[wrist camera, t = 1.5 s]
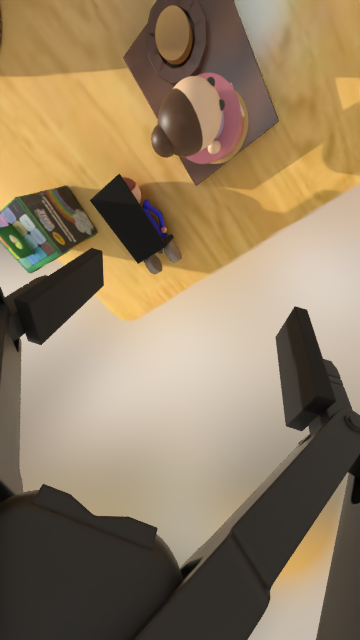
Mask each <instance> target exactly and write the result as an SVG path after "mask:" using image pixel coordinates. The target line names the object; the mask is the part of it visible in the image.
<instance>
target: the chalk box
mask: <svg viewBox="0 0 360 640" xmlns="http://www.w3.org/2000/svg"><path fill="white" fill-rule="evenodd" d="M97 233H98V232H97V230H96V229H95V228H94V226H93V224H92V223H91V221H90V220H89V218H88V217H87V215H86V214H85V212H84V211H83V209H82V208H81V206H80V204H79V203H78V201H77V200H76V198H75V197H74V195H73V194H72V192H71V191H70V189H69V187H68V186H63V187H59V188H55V189H51V190H46V191H40V192H37V193H33V194H29V195H24V196H20V197H15V198H14V199H13V200H12V201H11V202H10V203H9V204H8V205H7V206H6V207H5V208H3V209H2V210H1V211H0V243H1V244H2V245H3V246H4V247H5V248H6V249H7V250H8V251H9V253H10V254H11V255H12V256H13V257H14V258H15V259H16V260H17V261H18V262H19V263H20V264H21V265H22V266H23V267H24V268H25V270H26V271H27V272H28V273H33V272H35V271H37V270H39V269H40V268H42V267H43V266H44V265H46V264H48V263H50V262H52V261H54V260H55V259H57V258H59V257H60V256H62V255H64V254H65V253H67V252H68V251H70V250H72V249H73V248H75V247H77V246H78V245H80V244H81V243H83V242H85V241H86V240H88V239H89V238H91V237H93V236H94V235H96V234H97Z"/></svg>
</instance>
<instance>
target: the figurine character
mask: <svg viewBox="0 0 360 640" xmlns="http://www.w3.org/2000/svg"><path fill="white" fill-rule="evenodd" d="M90 201H91V202H92V204H93V205H94V206H95V208H96V209H97V210H98V212H99V213H100V214H101V216H102V217H103V218H104V220H105V221H106V222H107V224H108V225H109V226H110V228H111V229H112V230H113V231H114V233H115V234H116V235H117V237H118V238H119V239H120V241H121V242H122V243H123V245H124V246H125V247H126V249H127V250H128V251H129V253H130V254H131V255H132V257H133V258H134V259H135V260H136V262H137V263H140V262H142V261H143V260H144V262H145V265H146V267H147V268H148V270H149V271H150V272H151V273H153V274H157V273H159V272H161V271H162V264H161V262H160V260H159V258H158V257H157V256H156V255H155V253H156V252H158V253H162V249H163V248H164V251H165V254H166V255H167V257H168V258H169V260H170V261H171V262H173V263H175V262H177V261H179V260H181V259H182V256H181V252H180V250H179V248H178V246H177V245H176V243H175V242H174V241H173V240H172V239H173V238H174V237H173V235H170V236H169V235H168V234H167V233H166V231H167V229H166V227H165V226H164V222H163V217H162V213H161V212H160V211H158V210H157V209H155V208H154V207H153V206H151V205H150V202H149V201H148V200H145V201H144V202H143V206H142V207H141V205H140V202H141V191H140V189H139V187H138V185H137V184H136V183H135V182H134V181H133V180H131V179H129V178H124V177H123V178H122V176H121V175H120V174H119V175H117V176H116V177H115V178H114V179H113V180H112V181H111V182H110V183H108V184H107V185H106V186H105V187H104V188H103V189H102V190H101V191H100V192H99V193H98V194H96V195H95V196H94V197H93V198H92V199H91V200H90ZM147 209H149V210H151V211H152V212H153V213H155V214H156V215H158V218H159V222H160V226H161V228H160V227H159V225H158V224H157V223H156V221H155V220H154V218H153V217H152V216H151V214H150V213H149V211H148V210H147ZM165 237H166V238H165ZM164 238H165V239H164ZM163 239H164V240H163Z"/></svg>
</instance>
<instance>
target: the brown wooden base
mask: <svg viewBox="0 0 360 640" xmlns="http://www.w3.org/2000/svg"><path fill="white" fill-rule="evenodd" d="M172 5H173V6H178V7H179V8H181V9H182V10H183V11H184V13H185V15H186V17H187V18H188V20H189V22H190V25H191V28H192V33H193V43H192V48H191V51H190V54H189V56H188V57H187V59H186V60H185V61H184V62H183V63H181V64H179V65H173V64H170V63H169V62H168V61H167V60H166V59H165V58H164V57H163V56H162V55H161V54H160V52H159V50H158V48H157V45H156V39H155V29H156V24H157V20H158V18H159V16H160V14H161V12H162V11H163V10H164V9H165V8H167V7H168V6H172ZM123 58H124V60H125V62H126V64H127V66H128V67H129V69H130V71H131V73H132V74H133V76H134V78H135V80H136V81H137V83H138V85H139V87H140V89H141V90H142V92H143V94H144V96H145V97H146V99H147V101H148V103H149V104H150V106H151V108H152V110H153V111H154V113H155V115H156V117H157V119H158V115H159V110H160V107H161V104H162V102H163V100H164V98H165V96H166V95H167V94H168V93H169V92H170V91H171V90H172V89H173V88H174V86H175V85H176V84H177V83H178V82H179V81H181V80H182V79H184V78H186V77H190V76H197V75H199V74H203V73H215V74H218V75H220V76H222V77H224V78H225V79H226V80H227V81H228V82H229V83H232V85H233V88H234V90H235V91H237V92H238V93H239V94H240V95H241V97H242V98H243V100H244V102H245V104H246V107H247V111H248V131H247V135H246V138H245V141H244V143H243V145H242V147H241V148H240V150H239V151H238V152H237V153H236V154H238V153H239V152H240V151H242V150H243V149H244V148H245V147H247V146H248V145H249V144H251V143H252V142H253V141H254V140H256V139H257V138H258V137H259V136H261V135H262V134H263V133H265V132H266V131H267V130H268V129H270V128H271V127H272V126H274V125H275V124H276V123H277V122H278V121H279V120H278V117H277V115H276V112H275V109H274V107H273V104H272V101H271V99H270V96H269V93H268V91H267V88H266V85H265V83H264V80H263V78H262V75H261V72H260V70H259V67H258V64H257V62H256V59H255V56H254V54H253V51H252V48H251V46H250V43H249V41H248V38H247V35H246V33H245V30H244V27H243V25H242V22H241V19H240V17H239V14H238V11H237V9H236V6H235V4H234V1H233V0H157V1H156V3H155V4H154V6H153V7H152V9H151V11H150V16H149V21H148V23H147V25H146V26H145V28H144V29H143V30H142V32H141V33H140V35H139V36H138V37H137V39H136V40H135V42H134V43H133V45H132V46H131V47H130V49H129V50H128V52H127V53H126V54H125V56H124V57H123ZM236 154H235V155H236ZM235 155H234V156H235ZM234 156H233V157H234ZM179 157H180V159H181V161H182V163H183V164H184V166H185V168H186V170H187V172H188V173H189V175H190V177H191V179H192V180H193V182H194V184H195V186H197V185H198V184H199V183H201V182H202V181H203V180H204V179H206V178H207V177H208V176H210V175H211V174H212V173H213V172H215V171H216V170H217V169H218V168H220V167H221V166H222V165H224V164H225V163H226V162H227V161H226V162H223V163H220V164H210V163H208V164H199V163H195V162H193V161H190V160H189V159H187V158H186V157H183V156H179ZM233 157H232V158H233ZM229 160H230V159H229ZM229 160H228V161H229Z"/></svg>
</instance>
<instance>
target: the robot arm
mask: <svg viewBox="0 0 360 640" xmlns="http://www.w3.org/2000/svg"><path fill="white" fill-rule="evenodd" d="M0 41H1V17H0ZM103 286H104V281H103V258H102V251H101V250H97V249H94V248H91V249H89V250H88V251H86V252H85V253H83V254H82V255H80V256H79V257H77V258H76V259H74V260H72V261H71V262H69V263H68V264H66V265H65V266H63V267H62V268H60V269H59V270H57V271H56V272H54V273H52V274H51V275H49V276H46V275H45V276H41V277H38V278H36V279H34V280H32V281H31V282H29V284H26V285H24V286H23V287H21V288H19V289H18V290H16V291H15V292H13V293H11V294H10V295H8V296H7V297H4V296H3V292H2V290H1V287H0V640H247V639H248V638H249V636H250V635H251V633H252V632H253V630H254V628H255V627H256V625H257V623H258V622H259V621H260V619H261V617H262V615H263V614H264V612H265V610H266V608H267V607H268V604H269V601H270V589H271V586H272V585H273V583H274V581H275V580H276V578H277V577H278V575H279V574H280V572H281V571H282V569H283V568H284V566H285V565H286V563H287V562H288V560H289V559H290V557H291V556H292V554H293V553H294V551H295V550H296V548H297V547H298V545H299V544H300V543H301V541H302V540H303V538H304V536H305V535H306V534H307V532H308V531H309V529H310V528H311V526H312V525H313V523H314V521H315V520H316V519H317V517H318V516H319V514H320V513H321V511H322V509H323V508H324V507H325V505H326V504H327V502H328V501H329V499H330V498H331V496H332V495H333V493H334V492H335V490H336V489H337V487H338V485H339V484H340V483H341V481H342V480H343V478H344V476H345V475H346V474H347V472H349V476H348V481H347V486H346V491H345V496H344V501H343V506H342V511H341V516H340V521H339V527H338V531H337V537H336V542H335V547H334V552H333V557H332V562H331V567H330V572H329V577H328V582H327V587H326V593H325V597H324V602H323V607H322V612H321V618H320V623H319V628H318V633H317V638H316V640H360V415H359V414H357V413H356V412H354V411H353V410H352V407H351V405H350V402H349V399H348V397H347V394H346V391H345V389H344V387H343V383H342V380H340V375H339V372H338V370H337V368H336V367H335V366H334V365H333V363H332V362H331V361H328V360H325V359H323V358H322V355H321V352H320V349H319V345H318V342H317V340H316V336H315V333H314V330H313V327H312V324H311V321H310V318H309V315H308V311H307V310H306V309H302V308H298V307H294V309H293V310H292V312H291V313H290V315H289V317H288V318H287V320H286V322H285V323H284V325H283V326H282V328H281V329H280V331H279V333H278V334H277V336H276V345H277V353H278V362H279V371H280V379H281V388H282V395H283V405H284V414H285V422H286V426H287V427H290V428H293V429H297V430H300V431H303V430H304V429H305V428H306V427H307V426H308V425H309V431H310V434H309V435H308V436H307V437H305V439H303V440H302V441H301V442H299V445H298V446H297V447H296V448H295V449H294V450H293V451H292V452H291V453H290V455H289V456H288V457H287V458H286V459H285V460H284V461H283V462H282V463H281V464H280V465H279V466H278V467H277V468H276V469H275V470H274V471H273V472H272V474H271V475H270V476H269V477H268V478H267V479H266V480H265V481H264V482H263V483H262V484H261V485H260V486H259V487H258V488H257V489H256V490H255V491H254V492H253V493H252V495H251V496H250V497H249V498H248V499H247V500H246V501H245V502H244V503H243V504H242V505H241V506H240V507H239V508H238V509H237V510H236V511H235V513H234V514H233V515H232V516H231V517H230V518H229V519H228V520H227V521H226V522H225V523H224V524H223V525H222V526H221V527H220V528H219V529H218V530H217V531H216V532H215V534H214V535H213V536H212V537H211V538H210V539H209V540H208V541H207V542H206V543H205V544H203V546H201V547H200V548H199V549H198V550H197V551H196V552H195V553H194V554H193V555H192V556H191V557H190V558H189V559H188V560H187V561H186V562H185V563H184V564H183V565H182V566H181V567H180V568H179V566H178V563H177V561H176V559H175V557H174V555H173V553H172V552H171V550H170V548H169V547H168V545H167V544H166V543H165V542H164V541H163V540H162V538H160V537H159V536H158V535H157V534H156V532H157V528H156V527H153V526H151V525H148V524H146V523H143V522H141V521H138V520H136V519H133V518H130V517H115V516H114V517H113V516H95V515H93V514H92V513H91V512H89V511H88V510H87V509H86V508H85V507H84V506H83V505H82V504H80V503H79V502H78V501H77V500H76V499H75V498H74V497H73V496H72V495H70V494H68V493H65V492H63V491H60V490H57V489H55V488H52V487H50V486H47V485H45V484H43V485H42V487H41V488H40V490H35V491H28V492H24V493H23V485H22V479H21V475H20V469H19V450H20V447H19V446H20V393H21V339H20V337H21V336H22V335H23V334H24V333H26V336H27V339H28V341H30V342H33V343H36V344H39V345H42V344H43V343H44V342H45V341H46V340H47V339H48V338H49V337H50V336H51V335H52V334H53V333H54V332H55V331H56V330H57V329H58V328H60V327H61V326H62V325H63V324H64V323H65V322H66V321H67V320H68V319H69V318H70V317H71V316H72V315H73V314H74V313H75V312H76V311H77V310H78V309H79V308H81V307H82V306H83V305H84V304H85V303H86V302H87V301H88V300H89V299H90V298H91V297H92V296H93V295H94V294H95V293H96V292H97V291H98V290H99V289H101V288H102V287H103Z"/></svg>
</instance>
